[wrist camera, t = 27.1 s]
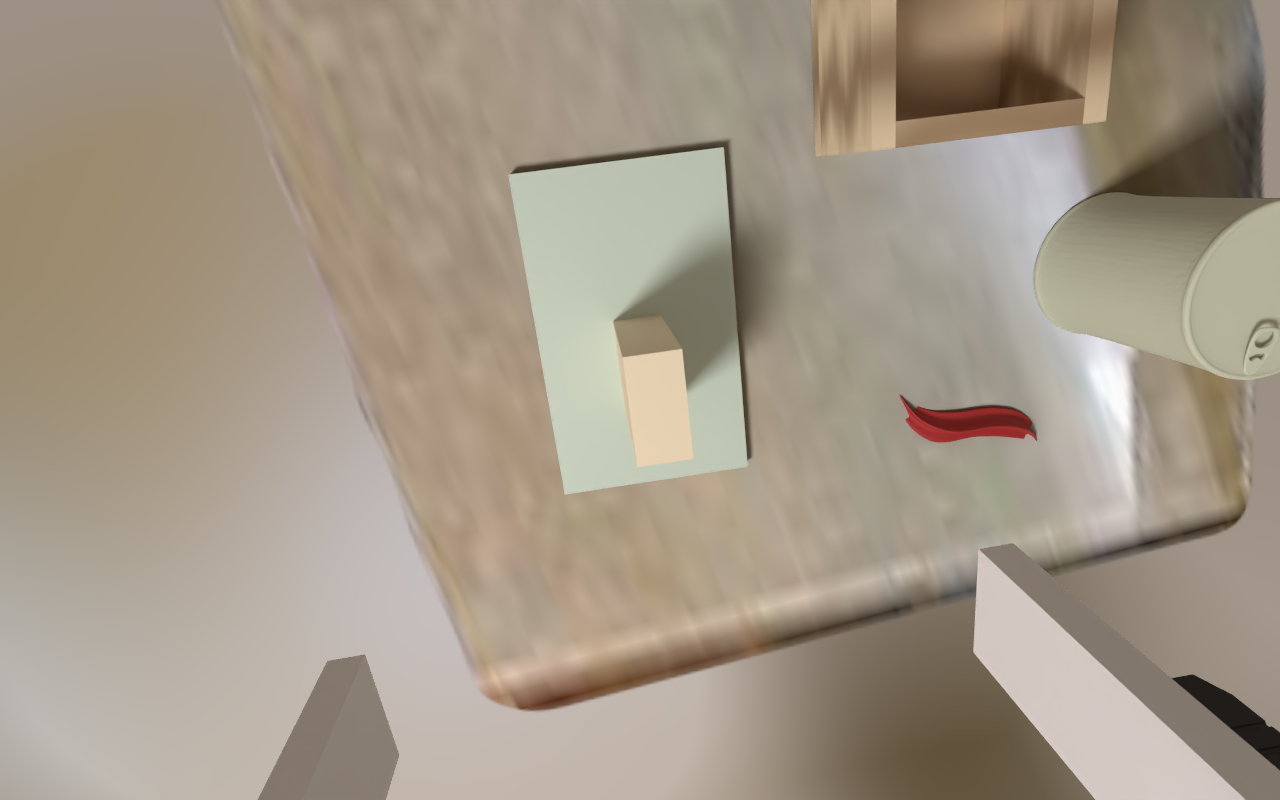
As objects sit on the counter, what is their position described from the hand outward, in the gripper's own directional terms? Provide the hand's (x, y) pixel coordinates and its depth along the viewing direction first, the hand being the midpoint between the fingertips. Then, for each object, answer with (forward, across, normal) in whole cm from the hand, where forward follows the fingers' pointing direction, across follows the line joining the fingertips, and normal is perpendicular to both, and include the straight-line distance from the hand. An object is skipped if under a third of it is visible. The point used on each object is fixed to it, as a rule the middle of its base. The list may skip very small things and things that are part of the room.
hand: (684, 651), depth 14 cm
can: (+30, +33, -1) cm, 44 cm away
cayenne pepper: (+30, +24, -10) cm, 40 cm away
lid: (+30, +2, 0) cm, 30 cm away
